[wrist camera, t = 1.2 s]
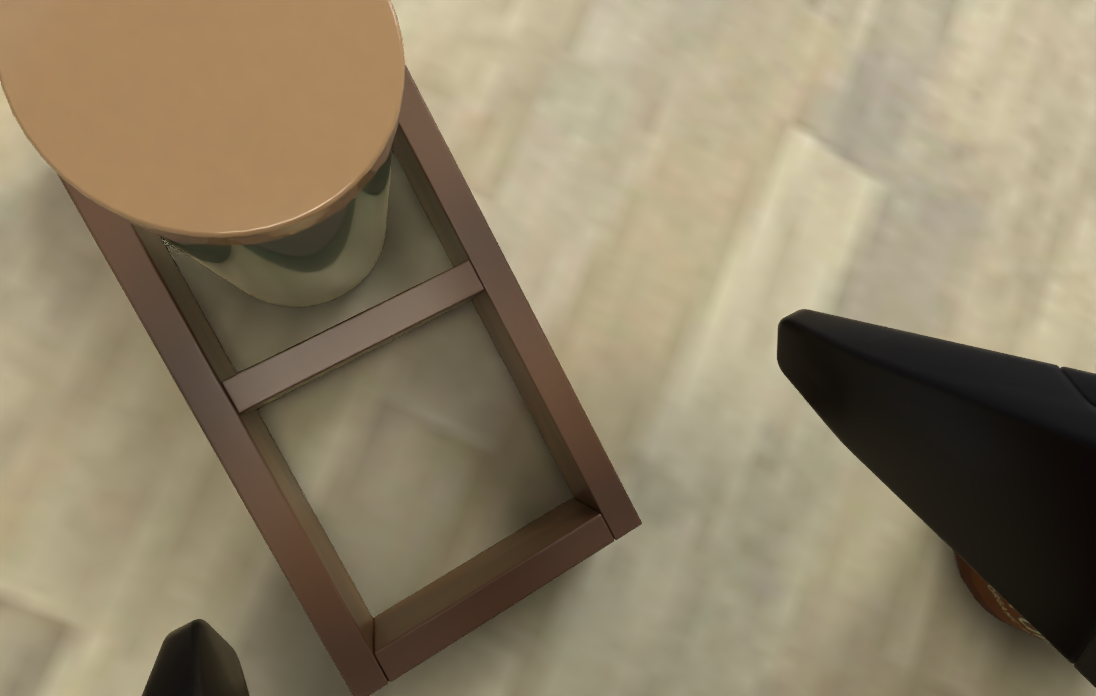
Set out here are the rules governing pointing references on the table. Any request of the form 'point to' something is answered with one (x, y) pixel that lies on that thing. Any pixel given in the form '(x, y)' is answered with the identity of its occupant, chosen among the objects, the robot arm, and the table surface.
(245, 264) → the canister
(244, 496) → the rack
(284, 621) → the table surface
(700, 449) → the table surface
